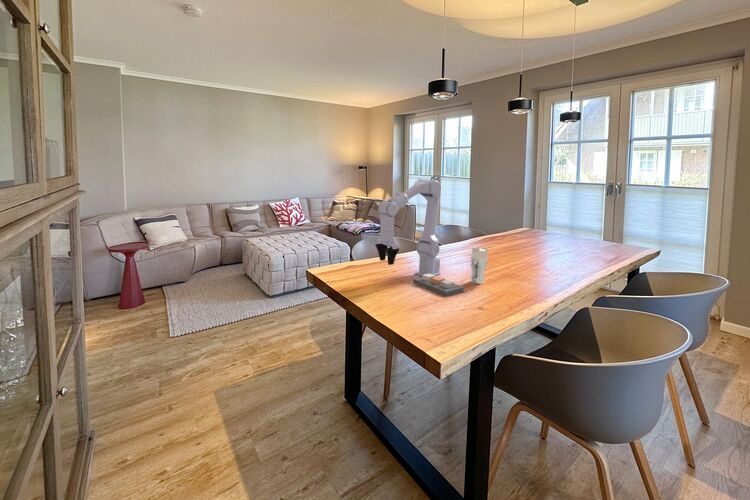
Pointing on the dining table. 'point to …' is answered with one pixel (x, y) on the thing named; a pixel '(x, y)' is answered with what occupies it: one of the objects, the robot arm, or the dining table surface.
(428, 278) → the cream key
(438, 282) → the terracotta key
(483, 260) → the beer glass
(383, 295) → the dining table surface
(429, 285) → the key board
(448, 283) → the grey key
